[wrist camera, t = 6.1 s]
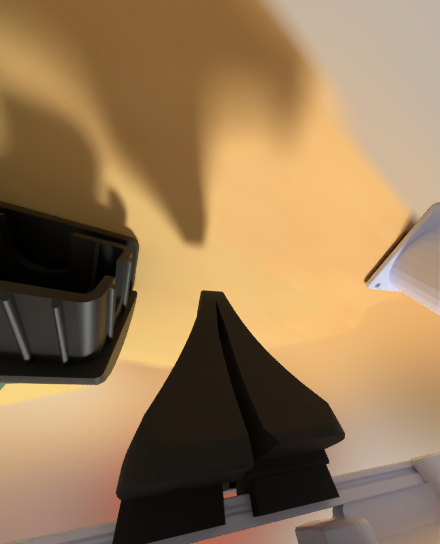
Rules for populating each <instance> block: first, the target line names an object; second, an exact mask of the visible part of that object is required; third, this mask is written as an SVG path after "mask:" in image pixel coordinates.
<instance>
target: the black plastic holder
mask: <svg viewBox="0 0 440 544" xmlns="http://www.w3.org/2000/svg"><path fill="white" fill-rule="evenodd" d="M138 253H139V244H138V243H137V241H136V240H134V239H133V238H130V237H127V236H123V235H119V234H116V233H112V232H108V231H105V230H101V229H98V228H94V227H90V226H87V225H83V224H79V223H76V222H72V221H69V220H65V219H61V218H58V217H54V216H51V215H47V214H43V213H40V212H36V211H32V210H29V209H25V208H22V207H18V206H14V205H11V204H7V203H3V202H0V383H34V384H80V385H98V384H101V383H103V382H104V381H105V380H106V379H107V378H108V376H109V375H110V373H111V372H112V369H113V367H114V365H115V363H116V361H117V359H118V356H119V354H120V351H121V349H122V346H123V343H124V341H125V338H126V335H127V332H128V329H129V325H130V322H131V319H132V315H133V311H134V307H135V303H136V298H137V292H136V291H133V286H134V279H135V273H136V266H137V259H138Z"/></svg>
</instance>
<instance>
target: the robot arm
mask: <svg viewBox="0 0 440 544" xmlns="http://www.w3.org/2000/svg"><path fill="white" fill-rule="evenodd" d="M366 287H368V288H370V289H379V290H390V291H400V292H403V293H405V294H406V295H408V296H409V297H411V298H413V299H414V300H416V301H417V302H419V303H421V304H422V305H424V306H425V307H427V308H429V309H430V310H432V311H433V312H435V313H437V314H438V315H440V203H436V204H434V205H432V206H431V207H430V208H429V209H428V210H427V211H426V212H425V214H424V215H423V216H422V217H421V218H420V220H419V221H418V222H417V223H416V224H415V225H414V227H413V228H412V229H411V230H410V231H409V233H408V234H407V235H406V236H405V237H404V239H403V240H402V241H401V242H400V243H399V244H398V246H397V247H396V248H395V249H394V250H393V252H392V253H391V254H390V255H389V256H388V257H387V259H386V260H385V261H384V262H383V263H382V265H381V266H380V267H379V268H378V269H377V270H376V272H375V273H374V274H373V275H372V276H371V278H370V279H369V280H368V281H367V282H366ZM344 438H345V433H344V431H343V429H342V427H341V425H340V424H339V422H338V420H337V418H336V416H335V415H334V413H333V411H332V409H331V408H330V406H329V404H328V403H327V402H326V401H324V400H323V399H322V398H321V397H319V396H318V395H317V394H315V393H314V392H313V391H312V390H310V389H309V388H308V387H306V386H305V385H304V384H303V383H301V382H300V381H299V380H298V379H297V378H295V377H294V376H293V375H292V374H291V373H290V372H288V371H287V370H286V369H285V368H284V367H283V366H282V365H281V364H280V363H278V361H276V359H275V358H273V357H272V356H271V355H270V354H269V353H268V352H267V351H266V350H265V349H264V347H263V346H262V345H261V344H260V343H259V342H258V341H257V340H256V339H255V337H254V336H253V335H252V334H251V333H250V331H249V330H248V329H247V327H246V326H245V325H244V323H243V322H242V321H241V319H240V318H239V316H238V315H237V314H236V312H235V311H234V309H233V308H232V306H231V304H230V303H229V301H228V300H227V298H226V296H225V295H224V293H223V292H218V291H204V290H203V291H201V295H200V300H199V306H198V311H197V318H196V320H195V323H194V326H193V328H192V331H191V333H190V336H189V338H188V340H187V342H186V344H185V346H184V348H183V350H182V352H181V354H180V356H179V358H178V360H177V362H176V364H175V366H174V367H173V369H172V371H171V373H170V375H169V376H168V378H167V380H166V381H165V383H164V385H163V386H162V388H161V390H160V391H159V393H158V394H157V396H156V397H155V399H154V401H153V402H152V404H151V405H150V407H149V409H148V410H147V412H146V413H145V415H144V417H143V419H142V421H141V423H140V425H139V427H138V429H137V431H136V433H135V436H134V438H133V440H132V442H131V444H130V446H129V449H128V451H127V453H126V455H125V459H124V461H123V464H122V468H121V473H120V476H119V481H118V485H117V490H116V495H117V497H118V498H119V499H121V504H120V509H119V514H118V518H117V521H113V522H108V523H103V524H98V525H93V526H88V527H84V528H79V529H74V530H69V531H64V532H59V533H54V534H50V535H45V536H40V537H35V538H30V539H25V540H21V541H15V542H11V543H6V544H190V543H194V542H198V541H201V540H205V539H209V538H213V537H217V536H221V535H225V534H229V533H233V532H236V531H240V530H245V529H248V528H252V527H256V526H260V525H264V524H268V523H271V522H276V521H280V520H284V519H288V518H292V517H296V516H299V515H303V514H307V513H311V512H315V511H319V510H322V509H327V508H331V507H333V517H332V519H324V520H316V521H311V522H308V523H305V524H303V525H300V526H298V527H296V530H295V532H296V536H297V540H298V543H299V544H440V452H437V453H433V454H428V455H423V456H420V457H416V458H412V459H411V460H409V461H404V462H399V463H395V464H389V465H384V466H380V467H375V468H370V469H365V470H360V471H355V472H351V473H346V474H341V475H336V476H331V475H330V473H329V470H328V468H327V466H326V464H328V463H329V459H328V457H327V455H326V452H325V450H324V449H326V448H328V447H330V446H332V445H334V444H337V443H339V442H340V441H342V440H343V439H344ZM231 492H237V496H234V497H230V498H223V494H226V493H231Z"/></svg>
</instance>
